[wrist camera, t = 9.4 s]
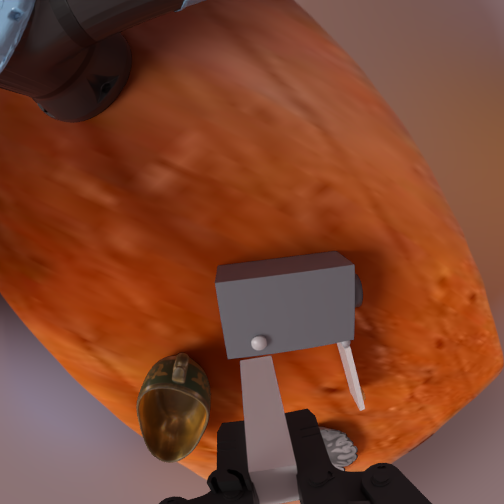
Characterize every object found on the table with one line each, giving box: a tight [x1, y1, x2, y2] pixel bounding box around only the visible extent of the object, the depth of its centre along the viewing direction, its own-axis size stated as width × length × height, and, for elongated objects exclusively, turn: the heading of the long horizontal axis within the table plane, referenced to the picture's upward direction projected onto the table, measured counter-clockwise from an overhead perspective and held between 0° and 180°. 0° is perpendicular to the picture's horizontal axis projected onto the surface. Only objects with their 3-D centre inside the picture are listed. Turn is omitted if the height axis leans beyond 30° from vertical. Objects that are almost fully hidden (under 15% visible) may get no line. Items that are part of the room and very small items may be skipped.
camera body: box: [215, 251, 363, 359], centre depth 39 cm, size 10×18×8 cm, turn 96°
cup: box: [137, 353, 211, 463], centre depth 40 cm, size 13×20×10 cm, turn 138°
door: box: [337, 340, 365, 411], centre depth 43 cm, size 2×14×6 cm, turn 21°
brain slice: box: [318, 426, 358, 471], centre depth 50 cm, size 20×17×3 cm
